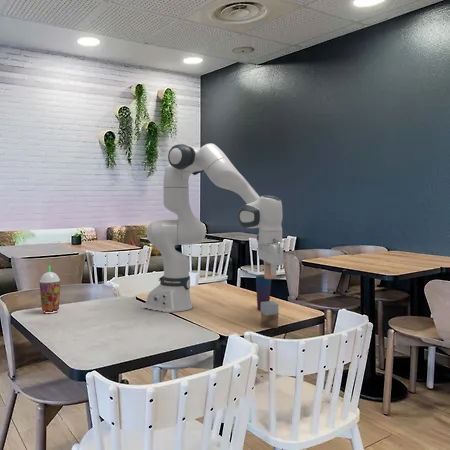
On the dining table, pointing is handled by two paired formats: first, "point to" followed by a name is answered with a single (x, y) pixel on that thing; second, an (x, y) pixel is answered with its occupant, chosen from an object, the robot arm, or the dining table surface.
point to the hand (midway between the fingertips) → (270, 273)
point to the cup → (262, 290)
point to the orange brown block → (268, 272)
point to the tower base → (269, 321)
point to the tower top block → (269, 308)
